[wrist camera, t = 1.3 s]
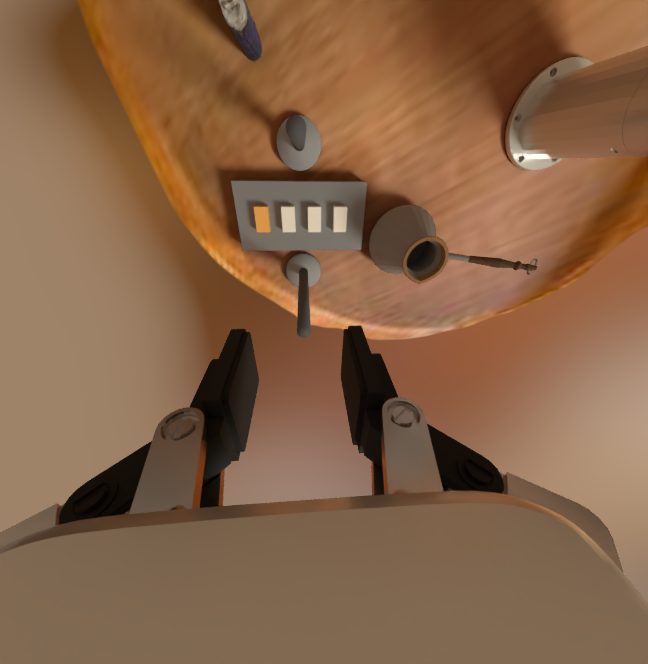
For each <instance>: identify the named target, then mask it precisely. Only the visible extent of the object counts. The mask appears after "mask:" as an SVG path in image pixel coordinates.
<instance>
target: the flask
mask: <svg viewBox="0 0 648 664" xmlns="http://www.w3.org/2000/svg"><path fill="white" fill-rule="evenodd" d="M218 2H219V6H220V8H221V11H222V13H223V16H224V18H225V21H226V23H227V24H228V26H229V28H230V29H231V30H232V32H233V34H234V36H235V38H236V40H237V42H238V43H239V45H240V46H241V48H242V50H243V52H244V53H245V56H246V57H247V58H248V59H250V60H251V61H254V63H255V61H256V60H258V59H259V58H260V57H261V55H262V45H261V40H260V36H259V33H258V31H257V29H256V25H255V22H254V21H253V18H252V16H251V13H250V11H249V9H248V7H247V4H246V1H245V0H218Z"/></svg>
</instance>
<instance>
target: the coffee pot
mask: <svg viewBox="0 0 648 664" xmlns="http://www.w3.org/2000/svg"><path fill="white" fill-rule="evenodd" d="M369 251H370V255H371V258H372V260H373V262H374V263H375V265H376V266H377V267H379V268H380V269H381V270H383V271H385V272H387V273H392V274H404V273H405V275H406V276H407V277H408V278H409V279H410V280H412V281H413V282H415V283H418V284H420V283H424V282H426V281H428V280H431V279H432V278H434V277H436V276H437V275H438V274H439V273H440V272H441V271H442V270H443V269H444V267H445V265H446V263H447V261H448V259H452V260H460V261H468V262H471V263H476V264H481V265H486V266H491V267H497V268H513V269H514V270H518V269H524V270H527V275H530V274H531V273H532V272H533V271H534V270H536V269H537V266H536V265H537V259H533V260H532V261H531V263H530V264H522V263H521V262H520V261H517V262H515V263H514V262H511V261H507V260H503V259H500V258H489V257H477V256H465V255H459V254H453V253H448V248H447V245H446V243H445V242H444V241H443V240H442V239H440V238H438V237H436V228H435V224H434V221H433V219H432V217H431V216H430V215H429V213H428V212H427V211H426V210H424V209H422V208H421V207H419V206H414V205H401V206H398V207H396V208H393V209H391V210H390V211H388V212H387V213H385V214H384V215H383V216H382V217H381V218H380V219H379V220H378V221H377V223H376V224H375V226H374V228H373V230H372V232H371V236H370V239H369ZM534 260H536V262H535V266H534V265H531V264H532V262H533V261H534ZM529 270H530V271H531V272H530V273H529Z"/></svg>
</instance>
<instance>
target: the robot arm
mask: <svg viewBox="0 0 648 664" xmlns="http://www.w3.org/2000/svg"><path fill="white" fill-rule="evenodd" d="M505 146H506V152H507V155H508V157H509V159H510V160H511V162H512V163H513V164H514V165H515V166H516V167H518V168H520V169H522V170H541V169H545V168H548V167H550V166H552V165H554V164H556V163H557V162H559V161H561V160H562V159H563V158H609V157H648V46H645V47H643V48H640V49H637V50H634V51H631V52H628V53H625V54H622V55H619V56H616V57H613V58H610V59H607V60H604V61H601V62H598V63H595V64H594V63H593V62H592V61H590V60H589V59H587V58H583V57H570V58H567V59H564V60H561V61H558V62H556V63H554V64H552V65H550V66H548V67H547V68H546V69H544V70H543V71H541V72H540V73H539V74H538V75H537V76H536V77H535V78H534V79H532V81H531V82H530V83H529V84H528V85H527V86H526V88H525V89H524V90H523V92H522V93H521V95H520V96H519V98H518V99H517V101H516V103H515V105H514V107H513V109H512V111H511V114H510V117H509V120H508V123H507V128H506V134H505ZM341 381H342V387H343V392H344V398H345V404H346V409H347V415H348V421H349V426H350V432H351V437H352V443H353V445H358V450H359V453H364V456H366V457H367V458H369V459H370V460H371V473H372V495H371V496H357V497H342V498H328V499H314V500H300V501H287V502H273V503H260V504H246V505H232V506H223V492H224V491H223V490H224V469H225V468H226V467H227V466H228V465H229V464H230V463H231V461H238V460H239V456H240V452H244V451H245V448H246V443H247V438H248V433H249V428H250V423H251V418H252V413H253V408H254V403H255V398H256V393H257V388H258V383H259V378H258V372H257V366H256V361H255V355H254V350H253V344H252V339H251V334H250V332H246V330H245V329H232V330H231V331H230V333H229V336H228V338H227V340H226V343H225V345H224V348H223V350H222V352H221V354H220V357H219V359H213V360H212V361H211V362H210V364H209V366H208V368H207V371H206V373H205V375H204V377H203V379H202V381H201V383H200V386H199V388H198V390H197V392H196V394H195V397H194V399H193V401H192V403H191V405H190V407H187V408H182V409H178V410H176V411H174V412H172V413H170V414H169V415H167V416H166V417H165V418H164V419H163V420H162V421H161V422H160V423H159V424H158V426H157V428H156V430H155V433H154V437H153V440H152V441H151V442H149V443H148V444H146V445H145V446H143V447H141V448H140V449H138V450H137V451H135V452H134V453H132V454H131V455H129V456H127V457H126V458H124V459H122V460H121V461H119V462H118V463H116V464H115V465H113V466H111V467H110V468H108V469H107V470H105V471H104V472H102V473H100V474H99V475H97V476H96V477H94V478H93V479H91V480H89V481H88V482H86V483H85V484H84V485H82V486H81V487H80V488H78V489H77V490H76V491H75V492H74V493H73V494H72V495H71V496H70V497H69V499H68V500H67V501H66V503H65V504H64V505H62V506H60V505H59V504H55V505H53V506H51V507H49V508H47V509H45V510H43V511H41V512H39V513H38V514H35V515H34V516H32V517H30V518H28V519H26V520H24V521H22V522H20V523H18V524H16V525H14V526H12V527H10V528H8V529H6V530H4V531H2V532H0V664H648V602H647V601H646V600H645V598H644V597H643V596H642V595H641V594H640V592H639V591H638V590H637V589H636V588H635V586H634V585H633V584H632V583H631V582H630V580H629V579H628V578H627V577H626V576H625V575H624V573H623V570H622V566H621V563H620V560H619V557H618V554H617V550H616V547H615V544H614V541H613V538H612V536H611V534H610V532H609V530H608V528H607V527H606V526H605V525H604V524H603V522H602V521H601V520H600V519H599V518H598V517H597V516H596V515H595V514H594V513H592V512H591V511H590V510H589V509H587V508H585V507H584V506H582V505H580V504H578V503H576V502H574V501H572V500H569V499H567V498H564V497H562V496H560V495H558V494H556V493H553V492H551V491H548V490H547V489H544V488H542V487H540V486H537V485H535V484H533V483H531V482H528V481H526V480H524V479H521V478H519V477H517V476H515V475H512V474H510V473H508V472H507V473H506V474H505V475H504V474H502V473H500V472H499V471H498V469H497V468H496V467H495V466H494V465H493V464H492V463H491V462H490V461H489V460H487V459H486V458H485V457H483V456H482V455H480V454H478V453H476V452H475V451H473V450H471V449H470V448H468V447H466V446H464V445H463V444H461V443H459V442H457V441H456V440H454V439H452V438H451V437H449V436H447V435H445V434H444V433H442V432H440V431H438V430H437V429H435V428H434V427H432V426H430V425H428V424H427V423H426V418H425V415H424V413H423V410H422V409H421V408H420V407H419V406H418V405H417V404H416V403H414V402H413V401H411V400H409V399H406V398H401V397H400V398H399V397H398V395H397V393H396V390H395V388H394V386H393V383H392V381H391V378H390V376H389V373H388V371H387V368H386V366H385V363H384V361H383V359H382V356H381V354H378V353H377V354H371V351H370V349H369V346H368V343H367V340H366V338H365V335H364V332H363V329H362V327H361V326H349V327H348V329H344V336H343V351H342V365H341Z"/></svg>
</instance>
